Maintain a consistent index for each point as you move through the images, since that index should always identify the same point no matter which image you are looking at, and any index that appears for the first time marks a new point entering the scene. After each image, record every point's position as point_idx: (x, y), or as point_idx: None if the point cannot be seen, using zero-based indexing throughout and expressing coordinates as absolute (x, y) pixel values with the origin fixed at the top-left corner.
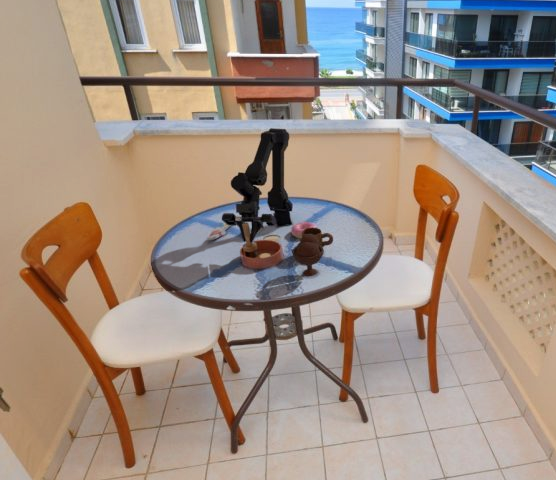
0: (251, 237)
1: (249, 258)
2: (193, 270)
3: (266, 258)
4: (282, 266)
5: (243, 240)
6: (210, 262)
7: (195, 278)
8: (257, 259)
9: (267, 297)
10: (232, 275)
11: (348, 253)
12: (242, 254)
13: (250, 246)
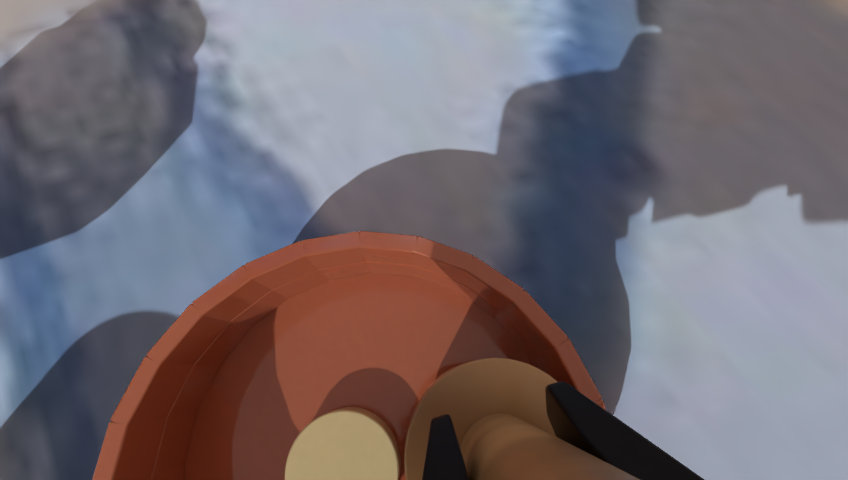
0: (435, 471)
1: (373, 233)
2: (788, 128)
3: (202, 297)
4: None
5: (562, 386)
6: (777, 261)
7: (685, 54)
8: (288, 248)
9: (123, 8)
10: (476, 149)
11: None
12: (495, 286)
13: (466, 421)
